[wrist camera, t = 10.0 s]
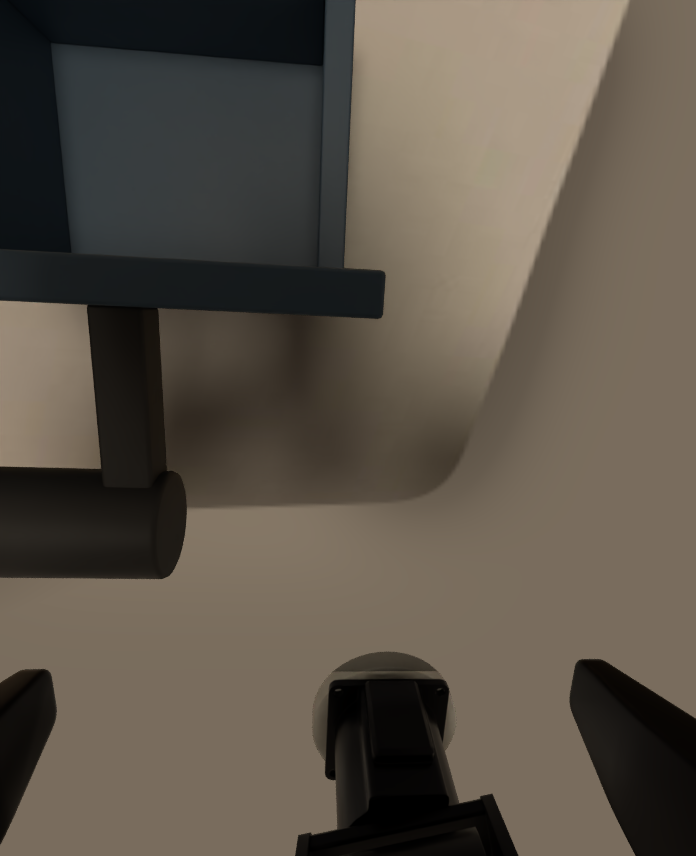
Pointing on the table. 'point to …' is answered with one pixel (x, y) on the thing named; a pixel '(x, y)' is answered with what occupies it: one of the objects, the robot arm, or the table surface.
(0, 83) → the box
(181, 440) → the table surface
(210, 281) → the lid
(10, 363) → the table surface
